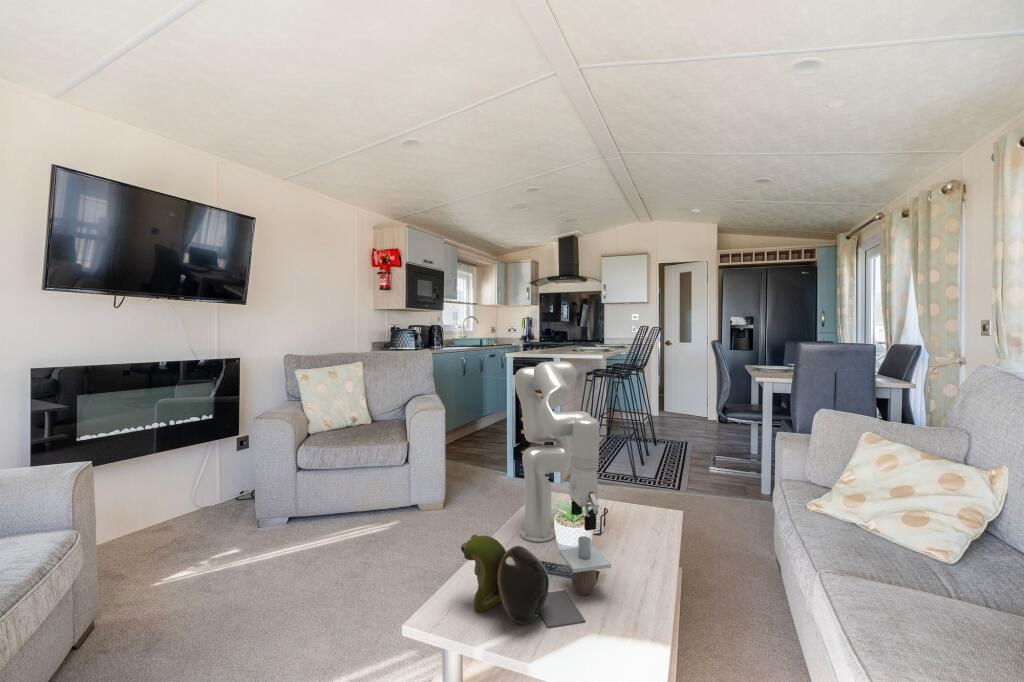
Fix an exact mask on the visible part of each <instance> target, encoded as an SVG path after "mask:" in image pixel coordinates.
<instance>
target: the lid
mask: <svg viewBox="0 0 1024 682" xmlns="http://www.w3.org/2000/svg"><path fill="white" fill-rule="evenodd" d="M591 542H592V541H591V538H590V537H588V536H584V535H583V536H580V537H578V544H577V545H578V547H572V548H571V547H570V548H565V549H564V548H563V549H558V554H559V555H560V556H561V558H562V559H563V561H564V562H565V563H566V565H567V566H568V567H569V569H570V570H571V572H572V571H573V573H575V572H582V571H590V570H594V571H595V570H604V569H610V568H612V563H611V562H610V561H609V559H607V558H606V557H605V556H604V554H602V552H601V551H600V550H599V549H598V548H597V547H596V546H595V545H591V544H592V543H591Z"/></svg>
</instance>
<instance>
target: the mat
mask: <svg viewBox="0 0 1024 682" xmlns="http://www.w3.org/2000/svg"><path fill="white" fill-rule="evenodd" d="M539 615H540V616H541V618H542V620H543V622H544V624H545V626H546V628H547V629H551V628H558V627H564V626H570V625H577V624H584V623H586V620H585V618H584V616H583V615H582V613H581V612H580V610H579V608H578V607H577V605H576V604H575V603H574V600H573V599H572V598H571V596H570V595H569V593H568V591H567V590H566V589H563V590H557V591H548V595H547V598H546V601H545V604H544V606H543V608H542V610H541V611H540V613H539Z"/></svg>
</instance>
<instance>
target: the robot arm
mask: <svg viewBox="0 0 1024 682" xmlns="http://www.w3.org/2000/svg"><path fill="white" fill-rule="evenodd" d="M577 375H578V374H577V370H576V367H575V366H574V365H573V364H572V362H569V361H561V360H560V361H543V362H540V363H538V364H537V365H535V366H529V367H528V366H527V367H523V368H519V369H518V370H516V373H515V376H514V386H515V387H514V388H515V392H516V394H517V397H518V399H519V402H520V405H521V415H522V426H523V434H524V438H525V440H526V441H527V442H529V443H547V442H549V443H550V442H551V443H552V442H553V445H552V444H551V445H539V446H531V447H528V448H526V449H525V450H524V451H523V453H522V457H521V459H522V461H521V462H522V466H523V467H522V468H523V474H524V526H523V527H521V528H520V529H519V534H520V536H521V538H523V539H524V540H526V541H529V542H533V543H545V542H548V541H549V542H550V541H551V540H553V539H554V538H555V537H556V535H555V536H554V530H555V529H554V528H553V527H552V485H551V482H550V480H549V479H548V478H547V477H546V474H551V473H553V474H554V473H561V472H567V471H568V470H569V469H570V472H569V473H570V476H569V485H568V487H569V488H568V495H569V496H570V500H571V509H570V510H571V511H570V514H571V515H572V516H578V515H582V514H583V508H584V511H585V515H584V530H585V531H587V532H588V531H595V530H596V529H597V517H598V513H599V508H600V505H599V501H598V499H599V498H598V496H599V492H598V491H599V487H598V470H599V460H600V459H599V458H600V457H599V455H600V453H599V452H600V421H599V420H598V419H597V418H594V417H592V416H591V414H590V413H588V412H586V411H581V410H580V411H578V410H577V411H561V412H560V411H559V412H554V411H553V410H554V409H557V408H559V407H560V406H562V405H563V404H565V403H566V402H567V401H568V400H569V398H570V396H571V389H570V387H572V385H574V384H575V383H576V381H577V377H578V376H577ZM536 391H540V392H541V394H542V396H543V397H541V396H540V394H539V393H537V392H536ZM570 439H571V447H570ZM589 508H591V509H589Z"/></svg>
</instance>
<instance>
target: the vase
mask: <svg viewBox="0 0 1024 682" xmlns="http://www.w3.org/2000/svg"><path fill="white" fill-rule="evenodd" d="M570 577H571V581H570V582H571V585H572V588H573V589H574V591H575V592H576V593H577V594H579V595H581V596H589V595H590V594H591V593H592V592H593V591H594V590H595V589H596V585H597V575H596V571H595V570H590V571H582V572H575V573H573V571H572V570H571V576H570Z"/></svg>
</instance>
